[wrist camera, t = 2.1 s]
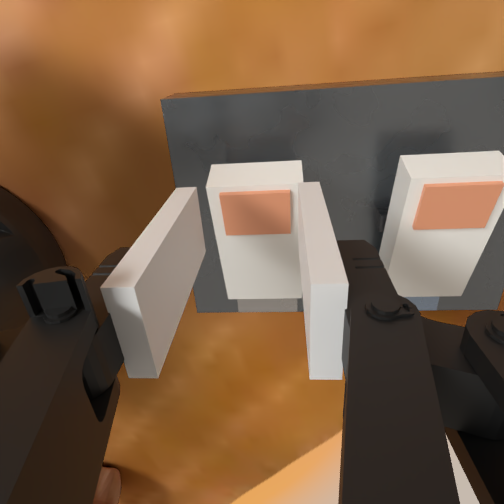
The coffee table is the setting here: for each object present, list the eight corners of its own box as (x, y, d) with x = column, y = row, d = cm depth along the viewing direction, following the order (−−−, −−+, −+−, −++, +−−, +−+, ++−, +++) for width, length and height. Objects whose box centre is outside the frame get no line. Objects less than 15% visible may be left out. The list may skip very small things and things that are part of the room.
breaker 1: (231, 274, 24) (227, 302, 22) (211, 164, 18) (204, 190, 16) (300, 273, 23) (301, 301, 22) (301, 160, 18) (303, 186, 16)
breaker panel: (205, 288, 28) (193, 323, 25) (174, 93, 22) (153, 102, 18) (475, 283, 27) (507, 321, 23) (533, 69, 20) (590, 73, 16)
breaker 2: (375, 272, 23) (382, 300, 21) (400, 155, 17) (413, 181, 16) (449, 270, 22) (462, 299, 21) (499, 150, 17) (523, 177, 15)
